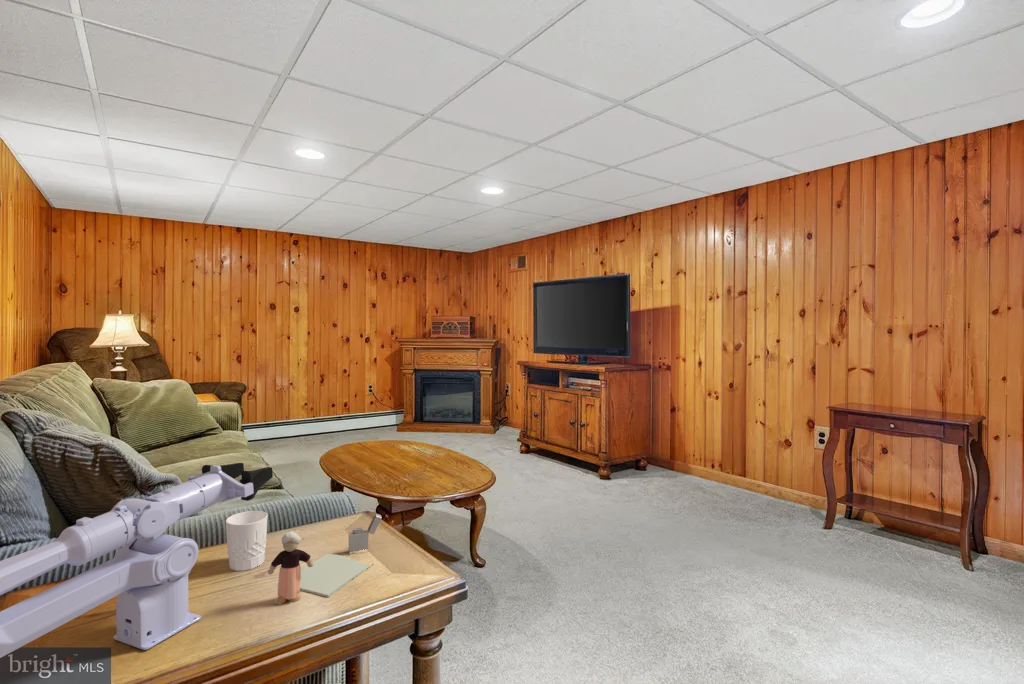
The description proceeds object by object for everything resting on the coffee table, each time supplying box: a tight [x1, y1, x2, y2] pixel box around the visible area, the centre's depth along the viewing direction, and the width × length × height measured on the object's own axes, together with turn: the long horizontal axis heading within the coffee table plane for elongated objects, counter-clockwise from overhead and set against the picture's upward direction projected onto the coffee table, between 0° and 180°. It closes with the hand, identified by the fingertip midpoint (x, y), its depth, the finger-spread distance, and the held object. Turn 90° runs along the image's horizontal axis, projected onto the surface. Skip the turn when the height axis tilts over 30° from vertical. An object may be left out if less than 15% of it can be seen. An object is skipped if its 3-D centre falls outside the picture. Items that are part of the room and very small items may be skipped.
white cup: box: [225, 510, 269, 572], centre depth 108 cm, size 8×8×10 cm
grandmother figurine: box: [267, 530, 314, 605], centre depth 94 cm, size 8×4×13 cm, turn 123°
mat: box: [300, 552, 369, 598], centre depth 104 cm, size 14×12×1 cm
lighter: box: [348, 513, 382, 553], centre depth 115 cm, size 7×2×8 cm, turn 114°
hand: (256, 469), depth 102 cm, fingers open, 7 cm apart
